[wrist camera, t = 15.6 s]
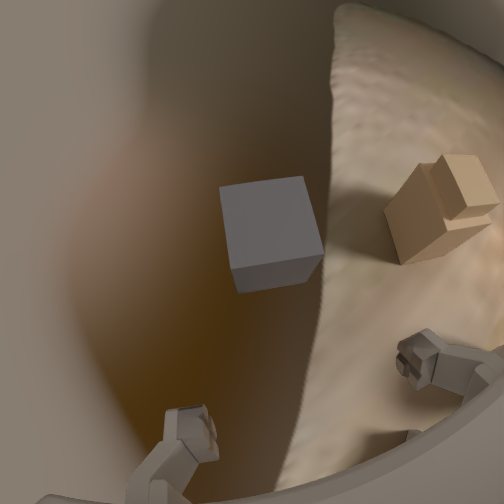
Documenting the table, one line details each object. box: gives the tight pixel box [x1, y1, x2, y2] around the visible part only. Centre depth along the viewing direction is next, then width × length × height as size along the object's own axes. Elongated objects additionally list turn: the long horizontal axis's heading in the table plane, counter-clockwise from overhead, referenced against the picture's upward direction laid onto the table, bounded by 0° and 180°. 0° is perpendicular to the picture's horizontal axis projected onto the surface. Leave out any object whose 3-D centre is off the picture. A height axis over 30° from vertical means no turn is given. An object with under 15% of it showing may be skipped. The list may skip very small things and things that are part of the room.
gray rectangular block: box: [219, 176, 324, 293], centre depth 24 cm, size 6×6×8 cm
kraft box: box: [383, 154, 499, 265], centre depth 23 cm, size 6×6×12 cm
